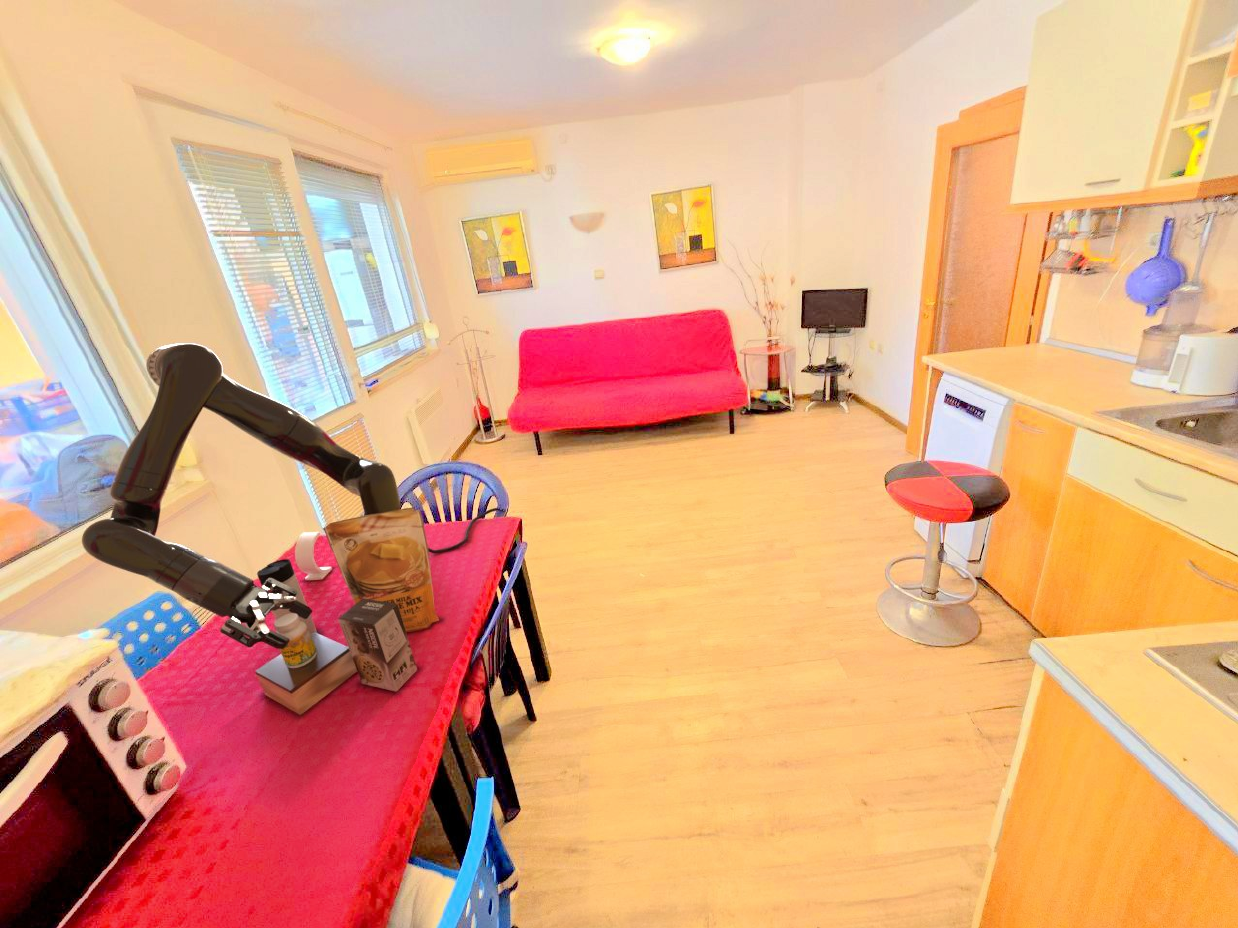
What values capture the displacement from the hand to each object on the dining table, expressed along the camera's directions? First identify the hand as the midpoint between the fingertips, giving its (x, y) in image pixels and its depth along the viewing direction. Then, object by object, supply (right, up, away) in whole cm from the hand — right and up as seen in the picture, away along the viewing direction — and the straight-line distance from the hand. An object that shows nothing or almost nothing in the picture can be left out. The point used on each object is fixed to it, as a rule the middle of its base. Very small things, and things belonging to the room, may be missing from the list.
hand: (298, 629), depth 96 cm
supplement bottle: (-1, -7, +3) cm, 7 cm away
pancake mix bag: (+12, -6, +19) cm, 23 cm away
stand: (0, -12, +5) cm, 13 cm away
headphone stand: (-22, +1, +43) cm, 48 cm away
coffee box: (+15, -11, +5) cm, 20 cm away
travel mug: (-10, -8, +17) cm, 22 cm away
